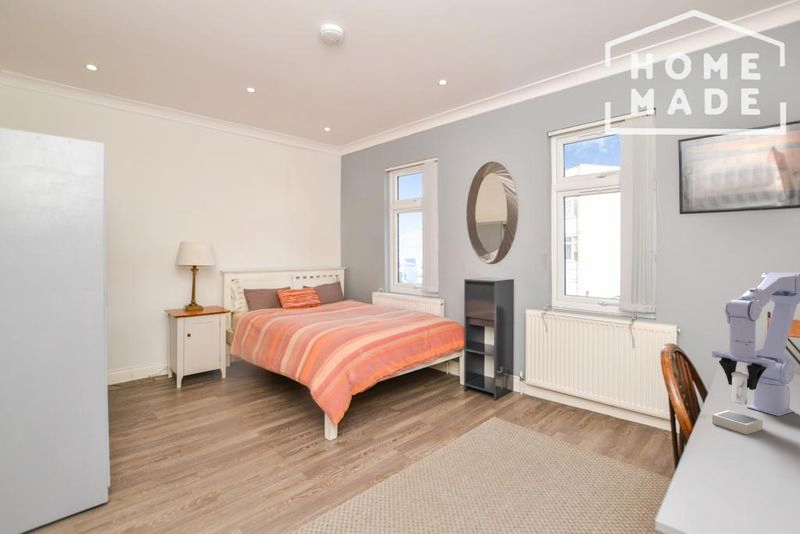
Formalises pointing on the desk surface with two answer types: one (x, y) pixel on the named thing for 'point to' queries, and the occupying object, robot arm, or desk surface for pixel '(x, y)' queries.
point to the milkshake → (740, 387)
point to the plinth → (737, 422)
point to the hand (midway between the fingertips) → (741, 386)
